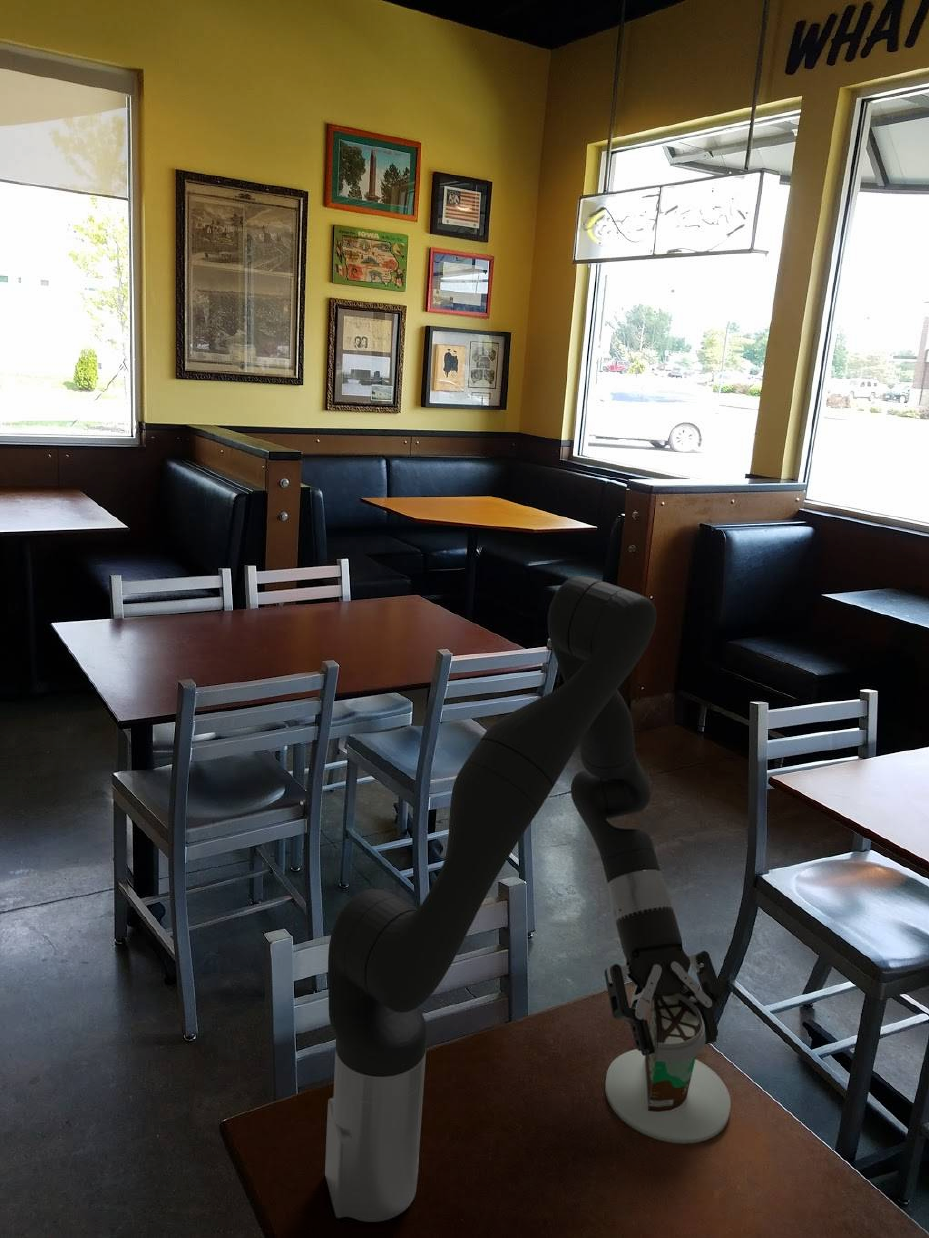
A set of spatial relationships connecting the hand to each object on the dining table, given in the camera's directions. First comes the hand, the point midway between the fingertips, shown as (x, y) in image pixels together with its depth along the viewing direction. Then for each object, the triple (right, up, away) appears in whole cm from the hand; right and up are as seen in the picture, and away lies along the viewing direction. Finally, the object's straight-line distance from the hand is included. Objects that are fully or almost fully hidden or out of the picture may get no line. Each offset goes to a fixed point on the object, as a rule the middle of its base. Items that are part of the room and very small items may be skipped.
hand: (680, 1048), depth 116 cm
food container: (0, -6, +3) cm, 7 cm away
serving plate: (-1, -7, +3) cm, 8 cm away
